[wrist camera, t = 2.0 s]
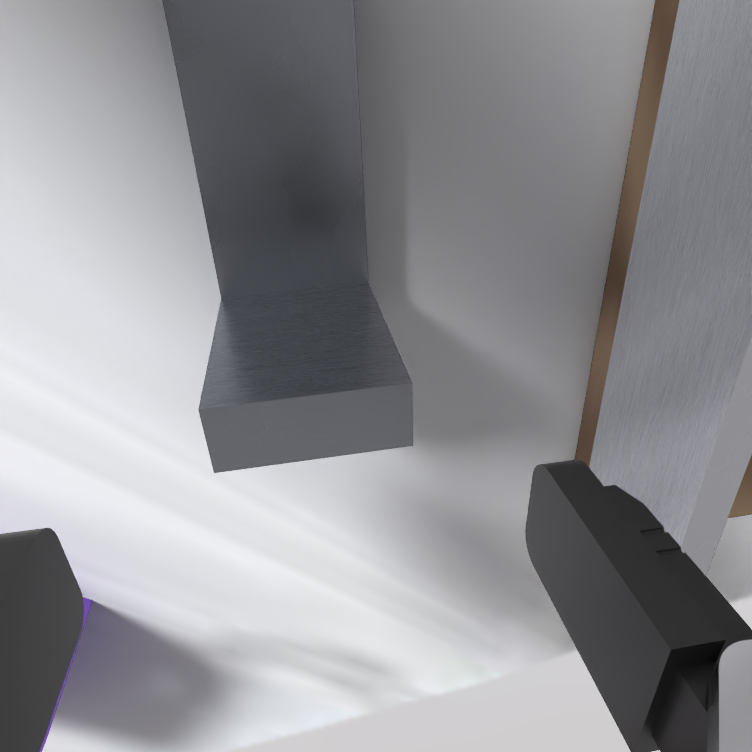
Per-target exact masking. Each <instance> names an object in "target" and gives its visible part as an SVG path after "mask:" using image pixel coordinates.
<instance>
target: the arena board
mask: <svg viewBox="0 0 752 752" xmlns="http://www.w3.org/2000/svg"><path fill="white" fill-rule="evenodd" d="M678 6H679V0H656V1H655V6H654V12H653V18H652V23H651V29H650V35H649V40H648V46H647V52H646V57H645V63H644V69H643V74H642V80H641V86H640V92H639V97H638V103H637V109H636V114H635V120H634V126H633V131H632V137H631V143H630V148H629V154H628V160H627V166H626V171H625V177H624V183H623V188H622V194H621V200H620V205H619V211H618V217H617V222H616V228H615V234H614V240H613V245H612V251H611V257H610V262H609V268H608V274H607V279H606V285H605V291H604V296H603V302H602V308H601V314H600V319H599V325H598V331H597V336H596V342H595V348H594V353H593V359H592V365H591V370H590V376H589V382H588V388H587V393H586V399H585V405H584V410H583V416H582V422H581V427H580V433H579V439H578V444H577V450H576V456H575V460H581V461H583V462H584V463H586V465H587V466H588V467H589V465H590V460H591V454H592V449H593V444H594V439H595V434H596V429H597V423H598V418H599V413H600V408H601V403H602V398H603V392H604V387H605V382H606V377H607V372H608V367H609V362H610V356H611V351H612V346H613V341H614V336H615V331H616V325H617V320H618V315H619V310H620V305H621V300H622V294H623V289H624V284H625V279H626V274H627V269H628V264H629V258H630V253H631V248H632V243H633V238H634V233H635V227H636V222H637V217H638V212H639V207H640V202H641V196H642V191H643V186H644V181H645V176H646V171H647V165H648V160H649V155H650V150H651V145H652V140H653V135H654V129H655V124H656V119H657V114H658V109H659V104H660V98H661V93H662V88H663V83H664V78H665V73H666V67H667V62H668V57H669V52H670V47H671V42H672V37H673V31H674V26H675V21H676V16H677V11H678ZM750 514H752V455H751V458H750V460H749V463H748V466H747V468H746V471H745V473H744V476H743V479H742V481H741V484H740V487H739V489H738V492H737V495H736V497H735V500H734V502H733V505H732V508H731V510H730V513H729V516H728V518H732V517H738V516H744V515H750Z"/></svg>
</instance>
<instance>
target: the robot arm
mask: <svg viewBox="0 0 752 752" xmlns="http://www.w3.org/2000/svg"><path fill="white" fill-rule="evenodd" d="M526 543H527V548H528V552H529V556H530V559H531V561H532V564H533V566H534V568H535V570H536V571H537V573H538V575H539V577H540V579H541V581H542V583H543V585H544V587H545V589H546V591H547V592H548V594H549V596H550V598H551V600H552V602H553V604H554V606H555V608H556V610H557V612H558V613H559V615H560V617H561V619H562V621H563V623H564V625H565V627H566V629H567V631H568V632H569V634H570V636H571V638H572V640H573V642H574V644H575V646H576V648H577V650H578V652H579V653H580V655H581V657H582V659H583V661H584V663H585V665H586V667H587V669H588V671H589V672H590V674H591V676H592V678H593V680H594V682H595V684H596V686H597V688H598V690H599V692H600V693H601V695H602V697H603V699H604V701H605V703H606V705H607V707H608V709H609V711H610V713H611V714H612V716H613V718H614V720H615V722H616V724H617V726H618V728H619V730H620V732H621V734H622V735H623V737H624V739H625V741H626V743H627V745H628V747H629V749H630V751H631V752H651V751H656V750H660V751H661V752H752V630H751V628H750V627H749V626H748V625H747V624H746V623H745V621H744V620H743V619H742V618H741V617H740V615H739V614H738V613H737V612H736V611H735V610H734V609H733V607H732V606H731V605H730V604H729V603H728V601H727V600H726V599H725V598H724V597H723V596H722V594H721V593H720V592H719V591H718V590H717V589H716V587H715V586H714V585H713V584H712V583H711V582H710V580H709V579H708V578H707V577H706V576H705V575H704V573H703V572H702V571H701V570H700V569H699V568H698V566H697V565H696V564H695V563H694V562H693V561H692V559H691V558H690V557H689V556H688V555H687V554H686V552H685V553H683V552H682V551H681V547H680V545H679V544H678V543H677V542H676V541H675V540H674V538H673V537H672V536H671V535H670V534H669V533H668V532H665V531H664V527H663V526H662V524H661V523H660V522H659V521H658V520H657V519H656V517H655V516H654V515H653V514H652V513H651V512H650V510H649V509H648V508H647V507H646V506H645V505H644V503H642V502H641V501H639V500H638V499H636V498H634V497H633V496H631V495H630V494H628V493H627V492H625V491H624V490H622V489H621V488H619V487H618V486H616V485H610V486H603V484H602V483H601V482H600V481H599V479H598V478H597V477H596V476H595V474H594V473H593V472H592V471H591V469H590V468H589V467H588V466H587V465H586V463H584V462H583V461H581V460H571V461H564V462H556V463H548V464H541V465H537V466H536V467H535V469H534V472H533V477H532V485H531V492H530V500H529V507H528V515H527V522H526ZM83 619H84V603H83V597H82V593H81V590H80V588H79V586H78V583H77V581H76V579H75V576H74V574H73V572H72V569H71V567H70V565H69V562H68V560H67V558H66V555H65V553H64V551H63V548H62V546H61V544H60V541H59V539H58V537H57V535H56V533H55V532H54V531H53V530H52V529H50V528H43V529H35V530H28V531H20V532H12V533H5V534H0V752H40V749H41V747H42V744H43V741H44V738H45V735H46V732H47V729H48V726H49V723H50V721H51V718H52V715H53V712H54V709H55V706H56V703H57V700H58V698H59V695H60V692H61V689H62V686H63V683H64V680H65V677H66V674H67V672H68V669H69V666H70V663H71V660H72V657H73V654H74V651H75V648H76V646H77V643H78V640H79V637H80V634H81V631H82V626H83Z"/></svg>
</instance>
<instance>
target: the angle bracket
mask: <svg viewBox="0 0 752 752" xmlns="http://www.w3.org/2000/svg"><path fill="white" fill-rule="evenodd" d="M163 4H164V9H165V14H166V20H167V25H168V30H169V35H170V40H171V45H172V50H173V55H174V60H175V65H176V70H177V75H178V80H179V85H180V91H181V96H182V101H183V106H184V111H185V116H186V121H187V126H188V131H189V136H190V141H191V146H192V151H193V156H194V162H195V167H196V172H197V177H198V182H199V187H200V192H201V197H202V202H203V207H204V212H205V217H206V222H207V227H208V233H209V238H210V243H211V248H212V253H213V258H214V263H215V268H216V273H217V278H218V283H219V288H220V293H221V303H220V308H219V313H218V317H217V322H216V327H215V332H214V337H213V342H212V347H211V351H210V356H209V361H208V366H207V371H206V376H205V381H204V385H203V390H202V395H201V400H200V405H199V413H200V417H201V421H202V426H203V430H204V434H205V438H206V442H207V446H208V450H209V454H210V458H211V462H212V466H213V470H214V473H217V472H225V471H232V470H239V469H246V468H254V467H261V466H268V465H275V464H283V463H290V462H297V461H305V460H312V459H319V458H326V457H334V456H341V455H348V454H355V453H363V452H370V451H377V450H385V449H392V448H399V447H406V446H413V415H412V382H411V379H410V377H409V375H408V373H407V370H406V368H405V366H404V363H403V361H402V359H401V357H400V354H399V352H398V350H397V347H396V345H395V343H394V341H393V338H392V336H391V334H390V331H389V329H388V327H387V325H386V322H385V320H384V318H383V315H382V313H381V311H380V309H379V306H378V304H377V302H376V299H375V297H374V295H373V293H372V290H371V288H370V286H369V283H368V264H367V245H366V226H365V207H364V188H363V169H362V150H361V131H360V112H359V93H358V74H357V55H356V36H355V17H354V0H163Z"/></svg>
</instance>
